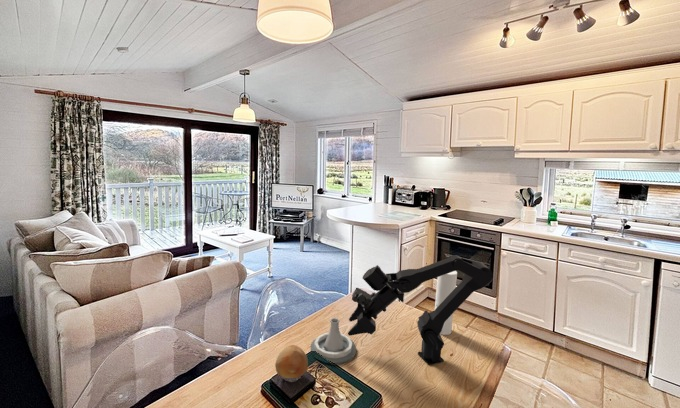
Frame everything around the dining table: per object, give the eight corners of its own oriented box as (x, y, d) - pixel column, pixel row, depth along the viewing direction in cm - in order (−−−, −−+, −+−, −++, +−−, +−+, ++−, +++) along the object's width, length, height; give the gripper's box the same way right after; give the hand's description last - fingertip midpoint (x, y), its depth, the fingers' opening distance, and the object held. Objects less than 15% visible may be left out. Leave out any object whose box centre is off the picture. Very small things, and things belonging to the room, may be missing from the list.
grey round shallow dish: (363, 359, 105) (363, 352, 105) (317, 368, 99) (318, 360, 99) (345, 334, 120) (346, 327, 119) (305, 340, 114) (305, 333, 114)
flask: (319, 348, 108) (320, 321, 107) (330, 338, 114) (331, 313, 113) (337, 355, 104) (338, 328, 103) (347, 345, 111) (349, 319, 109)
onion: (269, 375, 95) (269, 345, 94) (297, 363, 101) (298, 335, 100) (284, 395, 87) (285, 362, 86) (313, 380, 94) (314, 350, 92)
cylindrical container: (448, 326, 129) (454, 268, 126) (453, 335, 122) (459, 275, 119) (431, 324, 130) (436, 267, 126) (434, 334, 123) (440, 273, 119)
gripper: (366, 272, 115) (335, 299, 117) (366, 293, 96) (330, 324, 98) (386, 294, 115) (355, 320, 117) (391, 319, 97) (354, 349, 99)
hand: (349, 327), depth 108 cm, fingers open, 9 cm apart
